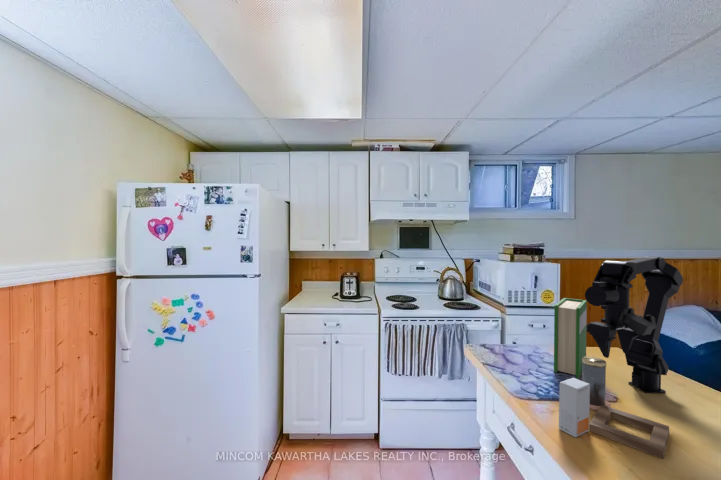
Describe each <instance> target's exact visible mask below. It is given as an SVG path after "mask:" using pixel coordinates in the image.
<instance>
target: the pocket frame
mask: <svg viewBox="0 0 721 480" xmlns="http://www.w3.org/2000/svg"><path fill="white" fill-rule="evenodd" d="M611 419H613V420H615V421H618V422H621V423H622V424H627V425H630V426H632V427H635V428H638V429H641V430H644V431H646V432H651V435H650V437H649V439H646V438H644V437H641V436H638V435H635V434H633V433H630V432H628V431H625V430H622V429H618V428H616V427H613V426H610V425H609V423H610V421H611ZM588 432H591V433H594V434H596V435H599V436H602V437H604V438H607V439H610V440H612V441H614V442H618V443H620V444H622V445H626V446H627V447H628V446H629V447H631V448H633V449H635V450H638V451H640V452H643V453H647V454H649V455H651V456H654V457H656V458H658V459H661V460H664V457H665V453H666V449H667V445H668V444H667V443H668V439H669V435H670V426H669V425H666V424H663V423H661V422H658V421H655V420H651V419H648V418H645V417H642V416H638V415H636V414H633V413H629V412H626V411H623V410H621V409H617V408H615V407H612V406H611V407H608V406H605V405H601V406H600V408H599V409H598V411H596V412H595V414H594V415H593V418H592V419H591V420H590V421H589V431H588Z"/></svg>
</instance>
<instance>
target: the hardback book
mask: <svg viewBox="0 0 721 480" xmlns="http://www.w3.org/2000/svg"><path fill="white" fill-rule="evenodd" d="M587 305H588V301H587V300H586V299H585V300H584V299H577V298H568V297H563V298H562V299H561V300H558V302H557V303H555V304H554V310H553V311H554V312H553V313H554V314H553V315H554V316H553V317H554V319H553V320H554V323H553V325H554V326H553V330H554V331H553V333H554V334H553V373H555V372H556V374H557V373H558V372H562V373H566V374H571V375H574V376H575V378H576V379H580V377H581V375H582V357H584V356H587V331H586V325H587V319H588V318H587V314H588V313H587V311H588V310H587V309H588V306H587Z"/></svg>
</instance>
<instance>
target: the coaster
mask: <svg viewBox="0 0 721 480" xmlns="http://www.w3.org/2000/svg"><path fill="white" fill-rule="evenodd" d="M605 406H608V407H611V408H612V404H611V403H610V402H609V401H607V400H606V399H605ZM599 408H600V406H594V405H591V404H590V405H589V410H591V411H596V412H597V411H598V409H599Z"/></svg>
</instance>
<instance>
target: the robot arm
mask: <svg viewBox="0 0 721 480" xmlns="http://www.w3.org/2000/svg"><path fill="white" fill-rule="evenodd" d="M640 274H641V275H640ZM637 275H640V276H641V277H642V278H643V279H644V280H645V282H644V285H645V287H646V290H647V291H648V297H647V301H646V304H645V308H644V312H643V316H642V315H637V314H636V313H635V309H634V308H633V307H630V289H632V288H634V287H633V284H632V283H631V282H632V281H633V280H635V279H637ZM683 280H684V277H683V275H682V273H681V272H680V271H679V269H678V268H677V267H675V266H674V265H671V264H670V263H668V262H667V261H666V260H665V258H664V257H661V256H649V255H648V256H647V255H645V256H642V257H639V258H635V259H631V260H625V261H620V260H605V261H603V262H602V264H601V265H600V266H599V269H598V271H597V273H596V275H595V277H594V279H593V281H592V282H591V283H592V284H591V286H589V287H588V288H587V289H586V290H585V292H584V298H585V300H587V303H589V304H590V305H591V306H594V307H600V309H603V310H604V316H603V317H604V318H601V319H600V321H593V322H588V323H586V333H589V335H591V336H592V338H593V340H594V341H595V343H596V344H597V346H598V348H599V350H600V352H601V354H602V356H603V357H604V358H606V359H608V358H610V354H611V352H610V351H611V346H612V342H613V341H615V340H617V336H616V335H618V340H619V344H620V347H621V350H622V352H623V353H624V356H625V361H626V365H627V366H629V367H632V372H631V381H628V384H629V385H630V386H632V387H634V388H636V389H638V390H640V391H641V392H643V393H646V394H649V393H650V394H666V392H667V391H666V390H665V389H662V387H661V386H662V385H661V384H662V382H661V381H662V376H667V375H668V372H669V365H668V364H667V362H666V360H665V359H664V357H663V355H664V351H663V349H662V347H661V345H660V343H659V340H660V336H661V332H662V327H663V323H664V320H665V315H666V312H667V308H668V304H669V300H670V299H671V298H672V297H673V296H674V295H676V294H677V293H678V292H679V290H680V287H682V285H683V282H684V281H683Z"/></svg>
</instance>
